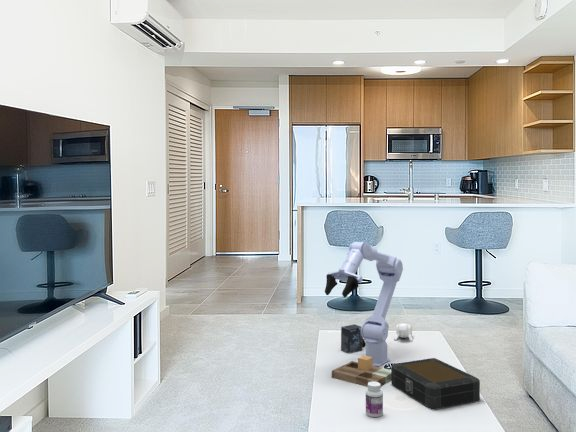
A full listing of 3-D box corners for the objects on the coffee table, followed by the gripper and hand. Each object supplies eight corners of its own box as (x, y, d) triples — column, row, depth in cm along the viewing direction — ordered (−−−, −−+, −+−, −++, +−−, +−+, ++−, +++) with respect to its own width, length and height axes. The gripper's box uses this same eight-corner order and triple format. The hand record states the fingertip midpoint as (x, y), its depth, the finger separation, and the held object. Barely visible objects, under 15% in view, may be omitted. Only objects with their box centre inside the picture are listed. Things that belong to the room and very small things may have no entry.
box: (349, 353, 223) (349, 329, 222) (340, 350, 228) (340, 326, 227) (362, 350, 227) (362, 326, 227) (354, 347, 232) (354, 323, 231)
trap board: (352, 367, 205) (352, 361, 205) (395, 377, 193) (395, 371, 193) (331, 377, 195) (331, 370, 195) (376, 388, 183) (376, 381, 182)
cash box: (388, 384, 187) (387, 363, 187) (435, 377, 194) (435, 356, 194) (430, 411, 164) (430, 387, 163) (481, 402, 171) (482, 378, 170)
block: (363, 365, 200) (363, 355, 199) (372, 367, 197) (372, 357, 197) (357, 368, 197) (357, 358, 196) (367, 370, 194) (367, 360, 194)
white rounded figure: (395, 342, 250) (392, 338, 236) (395, 324, 252) (393, 319, 239) (413, 343, 248) (412, 339, 234) (413, 325, 250) (412, 320, 237)
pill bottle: (363, 410, 164) (363, 380, 164) (380, 410, 165) (380, 380, 164) (367, 418, 159) (367, 387, 159) (384, 417, 159) (384, 386, 159)
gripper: (330, 258, 198) (314, 285, 191) (362, 261, 189) (347, 289, 182) (337, 270, 202) (322, 297, 195) (369, 273, 193) (354, 302, 185)
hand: (334, 294), depth 188 cm, fingers open, 7 cm apart
